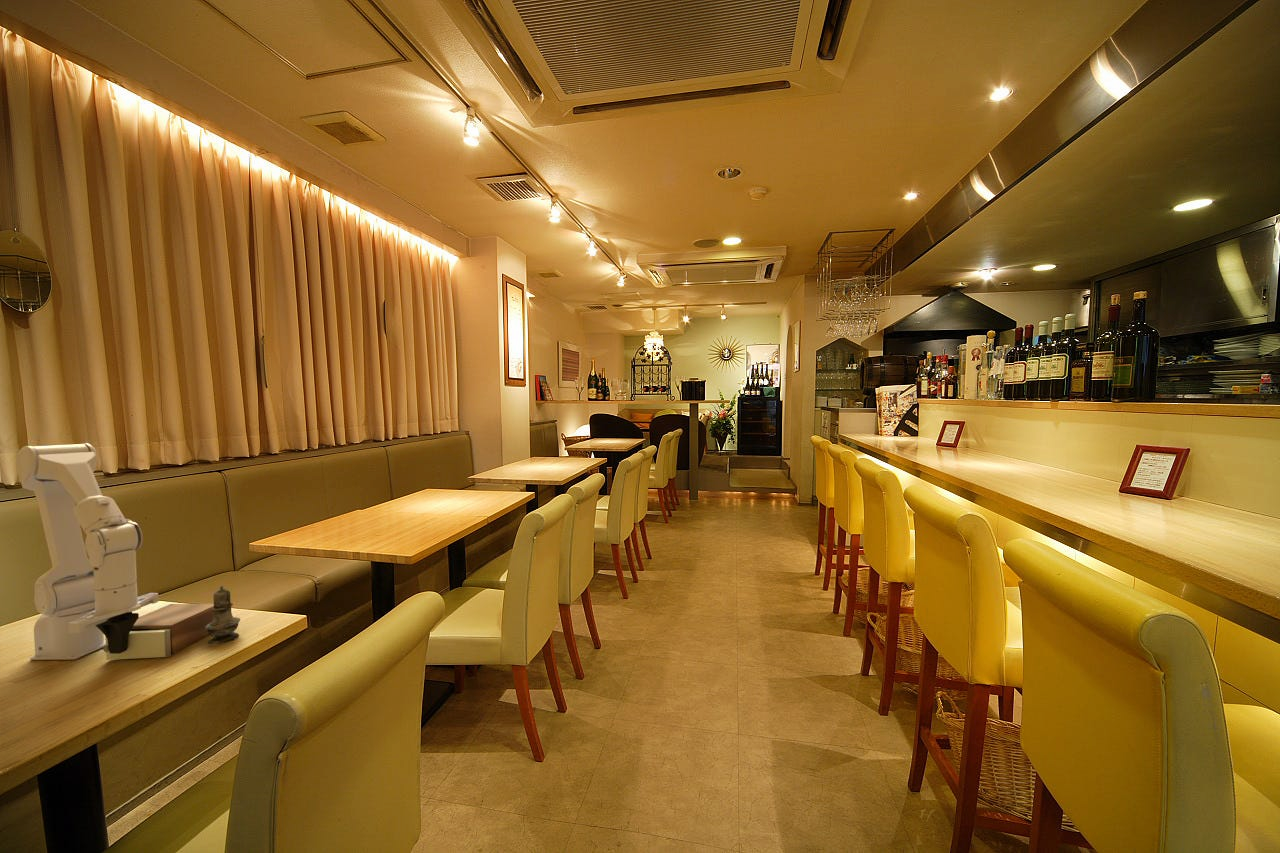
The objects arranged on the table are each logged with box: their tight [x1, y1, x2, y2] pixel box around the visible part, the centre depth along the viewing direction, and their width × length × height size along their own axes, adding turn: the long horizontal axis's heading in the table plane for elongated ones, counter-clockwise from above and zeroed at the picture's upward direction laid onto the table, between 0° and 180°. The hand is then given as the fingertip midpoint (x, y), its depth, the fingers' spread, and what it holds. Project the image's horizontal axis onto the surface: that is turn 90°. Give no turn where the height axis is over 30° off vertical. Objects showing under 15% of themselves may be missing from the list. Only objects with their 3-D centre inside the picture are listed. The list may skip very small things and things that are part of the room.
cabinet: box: [131, 603, 214, 656], centre depth 104 cm, size 11×11×6 cm
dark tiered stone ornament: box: [205, 585, 241, 646], centre depth 105 cm, size 6×6×12 cm
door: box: [102, 629, 172, 661], centre depth 97 cm, size 11×2×6 cm, turn 96°
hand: (118, 651), depth 95 cm, fingers closed
